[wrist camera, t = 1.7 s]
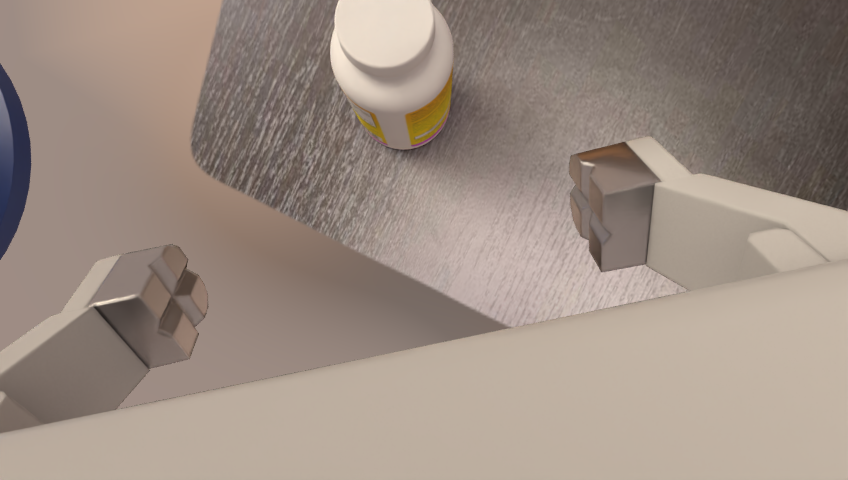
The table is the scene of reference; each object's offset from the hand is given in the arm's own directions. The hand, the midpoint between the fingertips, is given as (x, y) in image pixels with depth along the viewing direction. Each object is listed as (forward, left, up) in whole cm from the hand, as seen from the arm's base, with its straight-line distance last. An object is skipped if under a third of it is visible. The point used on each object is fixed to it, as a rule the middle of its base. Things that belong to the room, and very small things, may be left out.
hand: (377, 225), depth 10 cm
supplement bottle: (-2, +10, -25) cm, 27 cm away
